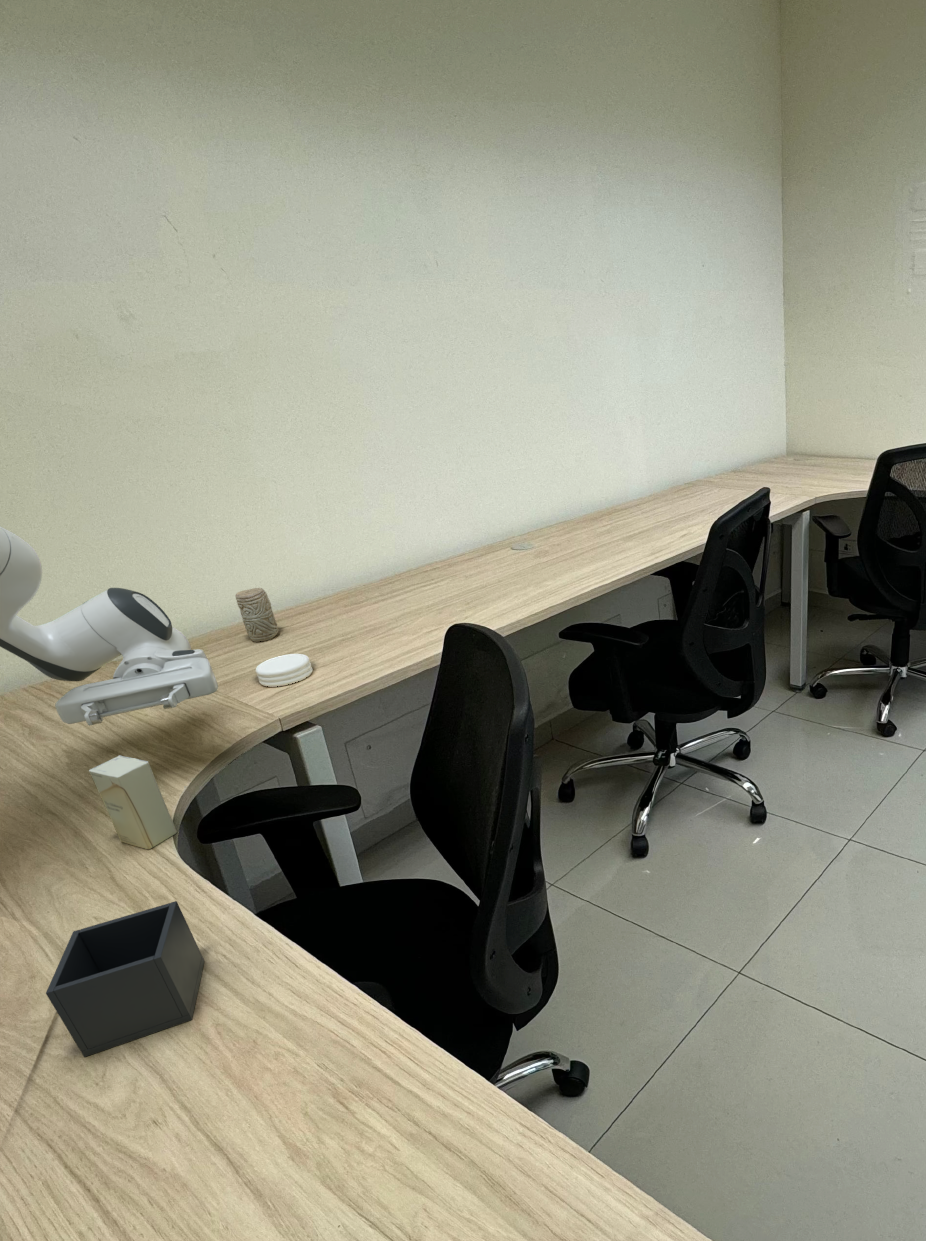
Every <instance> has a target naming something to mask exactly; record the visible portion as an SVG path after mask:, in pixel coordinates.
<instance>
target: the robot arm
mask: <svg viewBox="0 0 926 1241" xmlns="http://www.w3.org/2000/svg"><path fill="white" fill-rule="evenodd" d="M42 578H43V565H42V561H41V558H40V556H39V555H38V553H37V551H36V550H35V548H34V547H33V546H32V545H31V544H29V542H27V541H26V540H24V539H23V538H22V537H20V536H19V535H17V534H15V533H14V532H12V531H10V530H9V529H7V528H4V527H3V526H0V648H2V649H3V650H5V651H7V652H9V653H11V654H13V655H14V656H17V657H18V658H20V659H22V660H24V661H26V662H27V663H29V664H30V665H31V666H33V667H34V668H35V669H37V671H39V672H40V673H41V674H43V675H45V676H47V677H48V678H49V679H52V680H56V681H63V682H82V681H84V680H86V679H87V678H89V677H90V676H92V675H93V674H94V673H96V672H97V671H98V670H100V669H101V668H102V667H103V666H105V665H106V664H109V663H110V662H112V661H114V660H116V659H117V658H119V657H120V656H122V660H121V661H120V663H119V664H118V665H117V667H116V669H115V670H114V673H113V675H112V678H111V679H105V680H101V681H96V682H90V683H86V684H82V685H78V686H76V687H73V688H72V689H70V690H68V691H67V692H66V693H64V695H62V696H61V697H60V698H59V699H58V700H56V702H55V704H54V706H55V707H54V708H55V710H56V712H57V715H58V716H59V718H60V720H61V721H62V722H63V723H65V724H68V725H73V724H78V723H82V722H86V724H87V726H89V727H90V726H94V725H100V724H102V723H103V721H104V718H107V717H112V716H115V715H120V714H121V715H122V714H126V713H130V712H134V711H138V710H143V709H149V708H152V707H158V706H162V708H163V709H164V710H169V709H173V708H177V706H178V704H180V703H182V702H183V701H186V700H190V699H196V698H200V697H204V696H209V695H211V694H212V695H213V694H214V693H216V692H218V689H219V683H218V681H217V677H216V675H215V673H214V672H215V671H214V670H213V667H212V665H211V663H210V660H209V659H208V657H207V654H206V653H205V651H204V650H203V649H202V648H201V649H199V648H198V649H192V646H191V643H190V641H189V639H188V638H187V636H186V635H185V634H184V633H183V632H182V631H181V630H179V629H177V628H176V627H173V624H172V620H171V619H170V618H169V616H168V615H167V614H166V612H165V611H164V610H163V609H162V608H161V606H159V605H158V604H157V603H156V602H155V601H154V600H152V599H151V598H150V597H149V596H147V595H145V594H144V593H142V592H140V591H139V592H138V591H135V590H131V589H127V588H122V587H109V588H107V589H105V590H104V591H102V592H100V593H98V594H97V595H95V596H93V597H91V598H90V599H87V600H86V601H84V602H83V603H82V604H80V605H78V606H76V607H75V608H73V609H71V610H70V611H68V612H66V613H64V614H62V615H60V616H59V617H57V618H55V619H54V620H51V621H49V622H46V623H43V624H38V625H34V624H32V623H31V622H29V621H27V620H25V619H23V618H22V617H20V616H19V615H17V614H18V613H19V612H20V611H21V610H23V608H24V607H26V606H27V604H28V603H30V602H31V601H32V600H33V598H34V597H35V596H36V594H37V593H38V591H39V589H40V586H41V584H42Z"/></svg>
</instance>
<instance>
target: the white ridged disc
mask: <svg viewBox="0 0 926 1241" xmlns="http://www.w3.org/2000/svg"><path fill="white" fill-rule="evenodd" d="M255 673H256V675H257V679H258V682H259V684H260V685H261V686H264V687H267V686H268V688H276V687H277V686H278V687H284V686H288V684H289V685H293V684H296V683H299V682H301V681H303V680H305V679H307V678H308V677H310V675H312V673H313V667H312V663H311V661H310V658H309V656H308V655H306V654H303V653H289V654H283V655H278V656H275V657H271V658H269V659H266V660H264V661H262V662H261V663H259V664H258V665H257V666H256V668H255ZM306 677H307V678H306ZM298 681H299V682H298ZM295 682H296V683H295ZM292 683H293V684H292Z"/></svg>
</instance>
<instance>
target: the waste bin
mask: <svg viewBox="0 0 926 1241" xmlns="http://www.w3.org/2000/svg"><path fill="white" fill-rule="evenodd" d="M188 924H189V923H188V922H187V920H186V918H185V916H184V914H183V912H182V908H181V907H180V906H179V903H178V901H177V900H175V901H171V902H168V903H165V904H162V905H158V906H155V907H152V908H148V909H144V910H141V911H138V912H134V913H131V914H128V915H124V916H121V917H117V918H115V919H114V918H113V919H111V920H107V921H103V922H100V923H97V924H94V925H90V926H87V927H83V928H80V929H76V930H73V931H72V933H71V935H70V938H69V939H68V943H67V945H66V947H65V949H64V952H63V954H62V956H61V958H60V960H59V963H58V964H57V967H56V970H55V972H54V973H53V976H52V978H51V980H50V983H49V985H48V987H47V990H46V992H45V994H46V996H47V998H48V1000H49V1001H50V1003H51V1004H52V1006H53V1008H54V1009H55V1011H56V1013H57V1014H58V1016H59V1018H60V1020H61V1021H62V1023H63V1025H64V1026H65V1028H66V1029H67V1031H68V1033H69V1035H70V1036H71V1039H73V1041H74V1043H75V1044H76V1046H77V1048H78V1049H79V1051H80V1053H81V1055H82V1056H83V1058H87V1057H89V1056H92V1055H95V1054H97V1053H100V1052H103V1051H107V1050H109V1049H112V1048H115V1047H118V1046H121V1045H123V1044H124V1045H125V1044H126V1043H129V1042H132V1041H135V1040H139V1039H141V1038H144V1037H146V1036H149V1035H152V1034H155V1033H158V1032H162V1031H164V1030H167V1029H170V1028H173V1027H175V1026H178V1025H181V1024H184V1023H187V1022H190V1021H193V1018H194V1013H195V1007H196V1003H197V998H198V994H199V993H198V992H199V988H200V984H201V979H202V975H203V970H204V965H205V958H204V956H203V954H202V952H201V950H200V948H199V946H198V944H197V942H196V939H195V937H194V935H193V933H192V931H191V929H190V926H189V925H188Z"/></svg>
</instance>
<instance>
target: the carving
mask: <svg viewBox="0 0 926 1241" xmlns="http://www.w3.org/2000/svg"><path fill="white" fill-rule="evenodd" d="M234 597H235V600H236V605H237V607H238V609H239V612H240V616H241V620H242V623H243V624H244V629H245V632H246V633H247V635H248V638H249V639H250V640H251V641H252V642H255V643H260V641H261V642H267V641H269V640H271V639H273V638H275V637H276V636H277V635H278V633H279V626H278V623H277V621H276V618H275V617H276V616H275V614H274V610H273V607H272V603H271V601H270V599H269V596H268V593H267V592H266V591H265V590H264V588H262V587H254V588H249V589H245V590H240V591H238V592H236V593H235V596H234Z"/></svg>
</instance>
